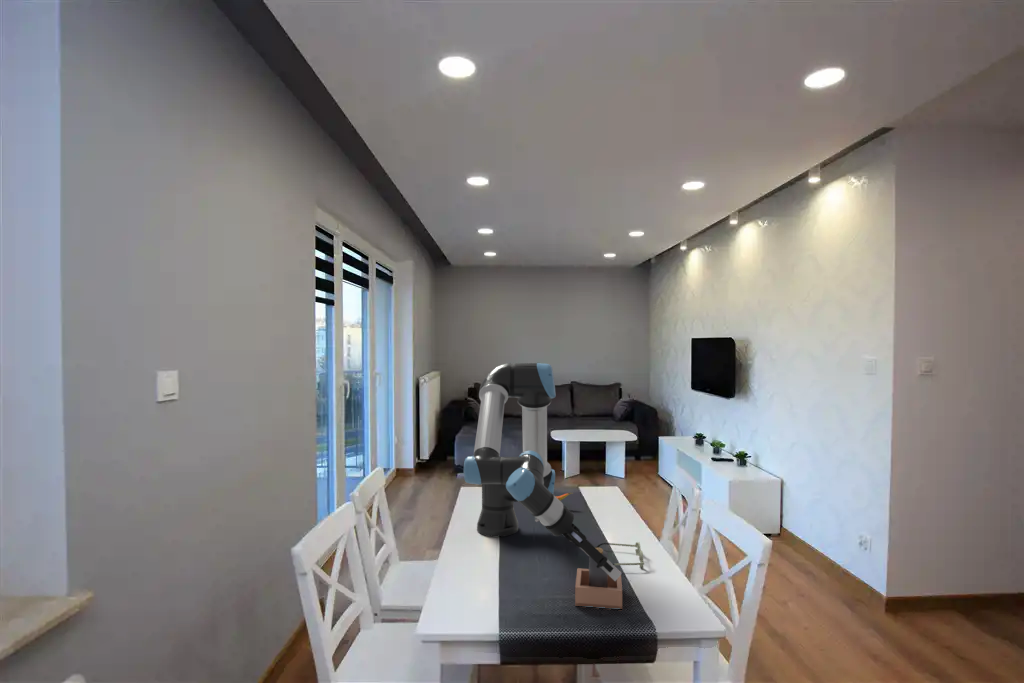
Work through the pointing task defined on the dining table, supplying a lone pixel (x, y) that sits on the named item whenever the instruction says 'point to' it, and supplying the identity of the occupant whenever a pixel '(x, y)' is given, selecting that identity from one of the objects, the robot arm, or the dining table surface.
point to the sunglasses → (638, 552)
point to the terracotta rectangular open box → (597, 592)
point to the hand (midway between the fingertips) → (606, 566)
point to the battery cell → (597, 572)
